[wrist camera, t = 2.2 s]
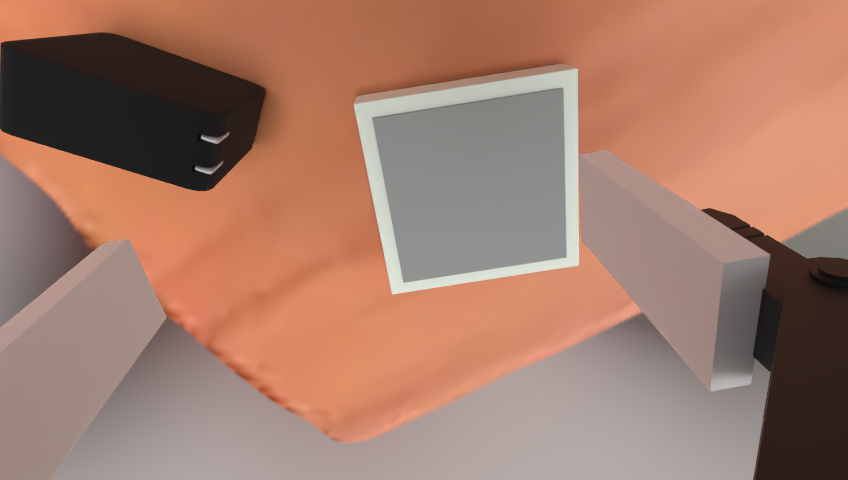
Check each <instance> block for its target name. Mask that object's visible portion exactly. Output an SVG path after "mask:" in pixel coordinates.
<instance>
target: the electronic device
mask: <svg viewBox="0 0 848 480" xmlns="http://www.w3.org/2000/svg"><path fill="white" fill-rule="evenodd" d="M264 94H265V89H264V88H262V87H261V86H258V85H256V84H254V83H251V82H248V81H246V80H243V79H240V78H237V77H234V76H232V75H229V74H226V73H223V72H220V71H218V70H215V69H212V68H209V67H206V66H204V65H201V64H198V63H195V62H192V61H189V60H187V59H184V58H181V57H178V56H175V55H173V54H170V53H167V52H164V51H161V50H159V49H156V48H153V47H150V46H147V45H145V44H142V43H139V42H136V41H133V40H130V39H128V38H125V37H122V36H119V35H115V34H110V33H90V34H79V35H69V36H58V37H48V38H37V39H27V40H16V41H6V42H3V43H1V57H0V129H1V130H2V131H3V132H5V133H7V134H10V135H12V136H16V137H19V138H22V139H26V140H29V141H32V142H35V143H39V144H42V145H45V146H49V147H52V148H55V149H58V150H62V151H65V152H68V153H72V154H75V155H78V156H81V157H85V158H88V159H91V160H95V161H98V162H101V163H104V164H108V165H111V166H114V167H118V168H121V169H124V170H127V171H131V172H134V173H137V174H141V175H144V176H147V177H150V178H154V179H157V180H160V181H164V182H167V183H170V184H173V185H177V186H180V187H183V188H187V189H191V190H196V191H208V190H210V189H213V188H214V187H215V186H216V184H217V183H218V182H219V181H220V180H221V179H222V178H223V177H224V176H225V175H226V174H227V173H228V172H229V171H230V170H231V169H232V168H233V167H234V166H235V165H236V164H237V163H238V162H239V161H240V160H241V159H242V158H243V157H244V156H245V155H246V154H247V153H248V152H249V151H250V150H251V149H252V145H253V141H254V137H255V133H256V128H257V124H258V120H259V116H260V111H261V107H262V103H263V98H264Z"/></svg>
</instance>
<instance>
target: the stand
mask: <svg viewBox="0 0 848 480" xmlns="http://www.w3.org/2000/svg"><path fill="white" fill-rule="evenodd" d="M354 109H355V114H356V119H357V124H358V129H359V134H360V139H361V144H362V148H363V153H364V158H365V163H366V168H367V173H368V178H369V183H370V188H371V193H372V198H373V202H374V207H375V212H376V217H377V222H378V227H379V232H380V237H381V242H382V247H383V252H384V257H385V261H386V266H387V271H388V276H389V281H390V286H391V291H392V294H398V293H404V292H411V291H417V290H423V289H430V288H436V287H443V286H449V285H456V284H462V283H469V282H475V281H481V280H488V279H494V278H501V277H507V276H514V275H520V274H527V273H533V272H539V271H546V270H552V269H559V268H565V267H572V266H578V265H579V197H578V69H577V68H575V67H572V66H569V65H566V64H563V63H561V64H555V65H549V66H542V67H536V68H530V69H523V70H517V71H511V72H505V73H498V74H492V75H486V76H480V77H473V78H467V79H461V80H454V81H448V82H442V83H436V84H429V85H423V86H417V87H410V88H404V89H398V90H392V91H385V92H379V93H373V94H366V95H360V96H356V99H355V102H354Z"/></svg>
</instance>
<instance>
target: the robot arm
mask: <svg viewBox="0 0 848 480" xmlns="http://www.w3.org/2000/svg"><path fill="white" fill-rule="evenodd" d="M579 163H580V191H581V219H582V241H583V242H584V243H585V244H586V245H587V247H588V248H589V249H590V250H591V251H592V253H593V254H594V255H595V256H596V257H597V258H598V260H599V261H600V262H601V263H602V264H603V266H604V267H605V268H606V269H607V270H608V271H609V273H610V274H611V275H612V276H613V277H614V279H615V280H616V281H617V282H618V283H619V284H620V286H621V287H622V288H623V289H624V290H625V292H626V293H627V294H628V295H629V296H630V297H631V299H632V300H633V301H634V302H635V303H636V305H637V306H638V307H639V308H640V309H641V310H642V312H643V313H644V314H645V315H646V316H647V317H648V319H649V320H650V321H651V322H652V323H653V325H654V326H655V327H656V328H657V329H658V330H659V332H660V333H661V334H662V335H663V336H664V338H665V339H666V340H667V341H668V342H669V343H670V345H671V346H672V347H673V348H674V349H675V350H676V352H677V353H678V354H679V355H680V356H681V358H682V359H683V360H684V361H685V362H686V364H687V365H688V366H689V367H690V368H691V369H692V371H693V372H694V373H695V374H696V375H697V377H698V378H699V379H700V380H701V381H702V382H703V384H704V385H705V386H706V387H707V388H708V390H709V391H715V390H721V389H726V388H732V387H737V386H743V385H748V384H751V379H752V372H753V366H754V360H755V358H756V359H757V360H758V361H759V362H760V363H761V364H762V365H763V366H764V367H765V368H766V369H767V370H768V371H770V372H771V375H770V381H769V386H768V392H767V398H766V404H765V409H764V416H763V423H762V429H761V436H760V442H759V448H758V454H757V460H756V467H755V473H754V479H753V480H848V260H846V259H841V258H827V257H826V258H825V257H818V258H809V259H807V258H805V257H803V256H801V255H800V254H798V253H796V252H795V251H793V250H791V249H790V248H788V247H786V246H785V245H783V244H781V243H780V242H778V241H776V240H774V239H773V238H771V237H769V236H768V235H767V236H764V233H763V232H761V231H759V230H758V229H756V228H754V227H750V225H749V224H747V223H746V222H744V221H742V220H741V219H739V218H737V217H736V216H734V215H731V214H728V213H725V212H721V211H718V210H714V209H711V208H708V209H703V210H700V209H698V208H696V207H695V206H693V205H692V204H690V203H689V202H687V201H686V200H684V199H682V198H681V197H679V196H678V195H676V194H675V193H673V192H671V191H670V190H668V189H667V188H665V187H664V186H662V185H660V184H659V183H657V182H656V181H654V180H653V179H651V178H649V177H648V176H646V175H645V174H643V173H642V172H640V171H639V170H637V169H635V168H634V167H632V166H631V165H629V164H628V163H626V162H624V161H623V160H621V159H620V158H618V157H617V156H615V155H613V154H612V153H610V152H609V151H607V150H601V151H596V152H590V153H585V154H579ZM165 319H166V315H165V313H164V311H163V309H162V307H161V305H160V302H159V300H158V298H157V296H156V294H155V292H154V290H153V288H152V286H151V284H150V282H149V280H148V277H147V275H146V273H145V271H144V269H143V267H142V265H141V263H140V261H139V259H138V257H137V255H136V253H135V250H134V248H133V246H132V244H131V242H130V240H129V239H124V240H119V241H114V242H108V243H103V244H102V245H100V246H99V247H98V248H97V249H96V250H94V251H93V252H92V253H91V254H90V255H88V256H87V257H86V258H85V259H83V260H82V261H81V262H80V263H79V264H77V265H76V266H75V267H74V268H73V269H71V270H70V271H69V272H68V273H66V274H65V275H64V276H63V277H62V278H60V279H59V280H58V281H57V282H56V283H54V284H53V285H52V286H51V287H50V288H48V289H47V290H46V291H45V292H43V293H42V294H41V295H40V296H39V297H37V298H36V299H35V300H34V301H33V302H31V303H30V304H29V305H28V306H26V307H25V308H24V309H23V310H22V311H20V312H19V313H18V314H17V315H16V316H14V317H13V318H12V319H11V320H9V321H8V322H7V323H6V324H5V325H3V326H2V327H1V328H0V480H51V478H52V477H53V475H54V474H55V472H56V471H57V470H58V468H59V467H60V466H61V464H62V463H63V461H64V460H65V459H66V457H67V456H68V454H69V453H70V451H71V450H72V449H73V447H74V446H75V444H76V443H77V442H78V440H79V439H80V438H81V436H82V435H83V433H84V432H85V431H86V429H87V428H88V426H89V425H90V424H91V422H92V421H93V419H94V418H95V417H96V415H97V414H98V412H99V411H100V410H101V408H102V407H103V406H104V404H105V403H106V401H107V400H108V399H109V397H110V396H111V394H112V393H113V392H114V390H115V389H116V387H117V386H118V385H119V383H120V382H121V380H122V379H123V378H124V376H125V375H126V373H127V372H128V371H129V369H130V368H131V366H132V365H133V364H134V362H135V361H136V359H137V358H138V357H139V355H140V354H141V352H142V351H143V350H144V348H145V347H146V345H147V344H148V342H149V341H150V340H151V338H152V337H153V336H154V334H155V333H156V331H157V330H158V329H159V327H160V326H161V324H162V323H163V321H164V320H165Z"/></svg>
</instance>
